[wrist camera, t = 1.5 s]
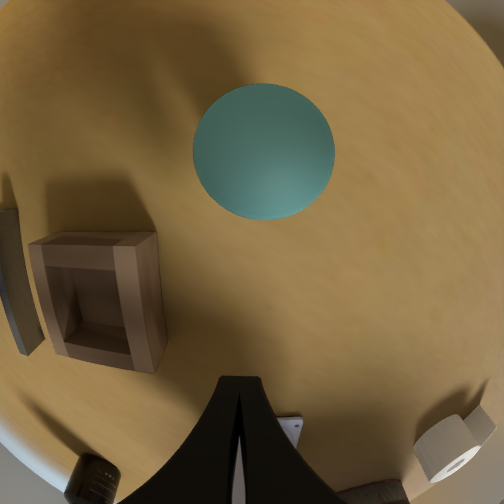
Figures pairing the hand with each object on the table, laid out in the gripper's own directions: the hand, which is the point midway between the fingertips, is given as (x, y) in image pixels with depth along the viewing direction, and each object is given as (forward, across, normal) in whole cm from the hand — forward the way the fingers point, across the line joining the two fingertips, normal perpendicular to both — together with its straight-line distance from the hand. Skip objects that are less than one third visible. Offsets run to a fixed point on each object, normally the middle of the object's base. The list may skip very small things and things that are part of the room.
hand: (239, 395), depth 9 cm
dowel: (+9, 0, -8) cm, 12 cm away
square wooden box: (+9, +9, 0) cm, 13 cm away
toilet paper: (+9, -30, +23) cm, 39 cm away
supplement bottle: (+9, +20, +30) cm, 38 cm away
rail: (+9, +19, 0) cm, 21 cm away
